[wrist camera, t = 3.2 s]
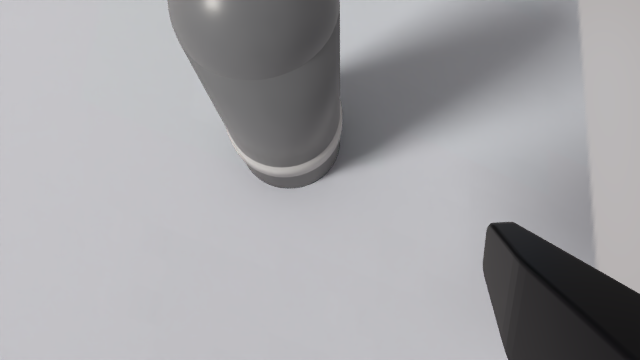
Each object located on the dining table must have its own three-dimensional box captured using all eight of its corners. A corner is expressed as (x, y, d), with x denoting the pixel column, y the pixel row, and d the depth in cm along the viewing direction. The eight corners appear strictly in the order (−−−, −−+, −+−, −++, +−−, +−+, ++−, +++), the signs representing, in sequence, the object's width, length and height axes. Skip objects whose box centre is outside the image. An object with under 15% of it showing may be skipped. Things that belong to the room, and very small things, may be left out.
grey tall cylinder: (361, 158, 23) (383, -28, 11) (268, 209, 23) (188, 69, 11) (310, 77, 25) (282, -167, 13) (221, 123, 24) (104, -86, 12)
